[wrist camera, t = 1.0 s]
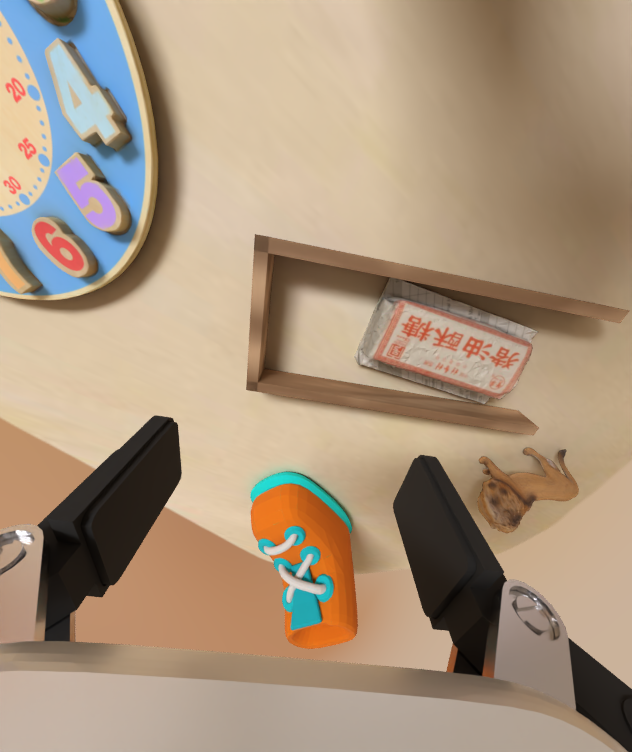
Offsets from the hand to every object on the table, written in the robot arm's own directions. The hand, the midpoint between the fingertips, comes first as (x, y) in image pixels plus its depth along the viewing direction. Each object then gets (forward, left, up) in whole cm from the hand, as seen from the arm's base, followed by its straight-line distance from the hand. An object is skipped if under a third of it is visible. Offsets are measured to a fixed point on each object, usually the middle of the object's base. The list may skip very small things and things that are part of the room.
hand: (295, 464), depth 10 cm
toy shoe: (+32, +4, -20) cm, 38 cm away
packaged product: (0, +15, -21) cm, 26 cm away
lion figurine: (+16, +32, -20) cm, 41 cm away
